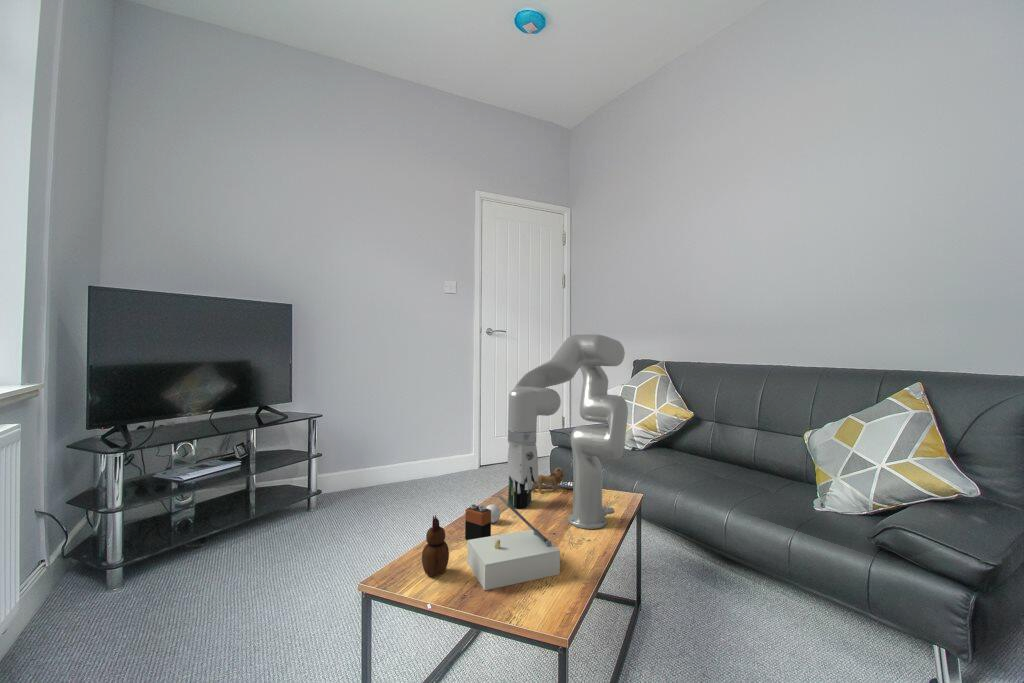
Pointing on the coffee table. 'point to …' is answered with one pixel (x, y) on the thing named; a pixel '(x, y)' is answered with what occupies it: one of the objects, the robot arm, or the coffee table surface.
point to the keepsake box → (512, 559)
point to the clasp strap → (525, 520)
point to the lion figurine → (549, 479)
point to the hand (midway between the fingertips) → (520, 507)
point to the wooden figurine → (435, 550)
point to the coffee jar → (511, 494)
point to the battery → (477, 522)
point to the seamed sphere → (494, 512)
